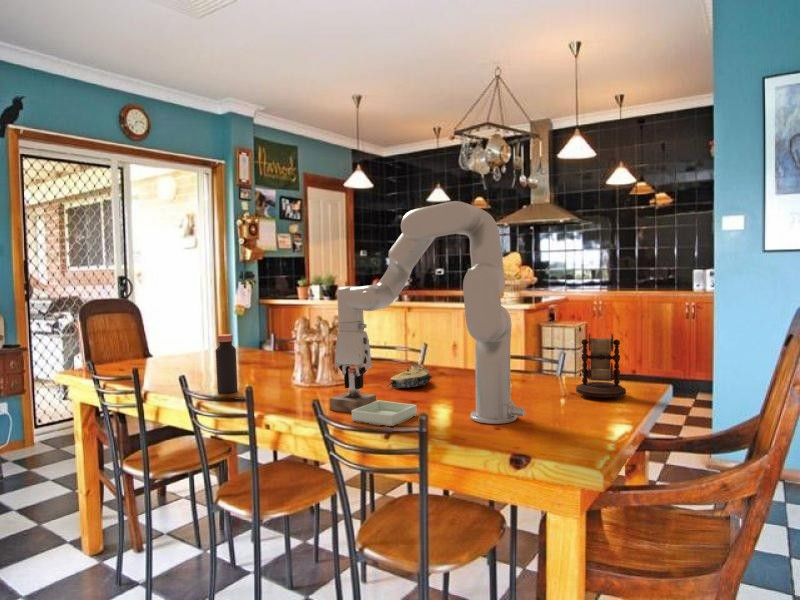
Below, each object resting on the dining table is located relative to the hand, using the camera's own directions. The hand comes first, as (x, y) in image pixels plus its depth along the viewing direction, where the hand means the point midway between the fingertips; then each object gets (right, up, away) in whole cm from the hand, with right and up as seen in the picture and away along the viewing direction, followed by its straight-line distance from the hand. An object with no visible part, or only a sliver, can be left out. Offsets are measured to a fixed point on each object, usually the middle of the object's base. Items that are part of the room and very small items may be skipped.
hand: (354, 387), depth 172 cm
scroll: (+77, -4, +8) cm, 78 cm away
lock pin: (0, -4, 0) cm, 4 cm away
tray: (+10, -7, -12) cm, 17 cm away
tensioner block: (0, -6, +1) cm, 6 cm away
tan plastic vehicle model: (+19, -4, +36) cm, 41 cm away
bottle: (-47, -6, +28) cm, 55 cm away
